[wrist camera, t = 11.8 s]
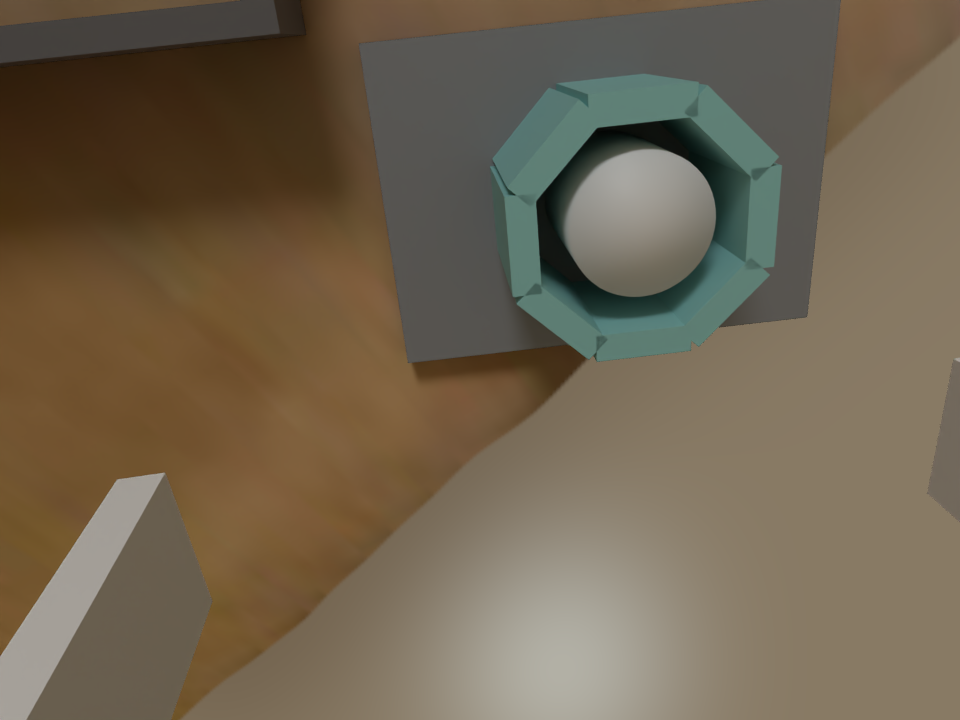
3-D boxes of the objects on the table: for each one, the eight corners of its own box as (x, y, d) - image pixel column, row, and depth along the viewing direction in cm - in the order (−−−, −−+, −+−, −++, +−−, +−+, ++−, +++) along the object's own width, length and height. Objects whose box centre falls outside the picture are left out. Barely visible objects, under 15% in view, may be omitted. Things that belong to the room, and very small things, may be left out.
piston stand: (408, 353, 32) (403, 424, 26) (361, 43, 27) (341, 44, 21) (796, 309, 32) (878, 369, 26) (827, -6, 27) (939, -20, 21)
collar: (503, 311, 30) (519, 370, 25) (483, 91, 27) (496, 104, 21) (708, 288, 31) (768, 341, 25) (716, 65, 27) (789, 72, 21)
